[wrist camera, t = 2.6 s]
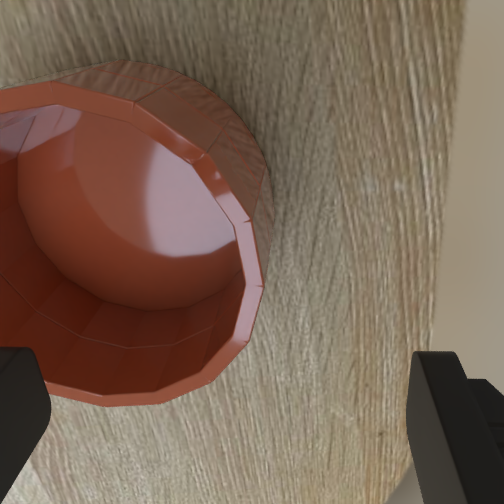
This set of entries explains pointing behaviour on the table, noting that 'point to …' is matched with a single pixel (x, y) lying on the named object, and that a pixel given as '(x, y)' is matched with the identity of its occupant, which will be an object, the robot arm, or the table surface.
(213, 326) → the bowl
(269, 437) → the table surface
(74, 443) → the table surface
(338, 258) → the table surface
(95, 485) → the table surface
